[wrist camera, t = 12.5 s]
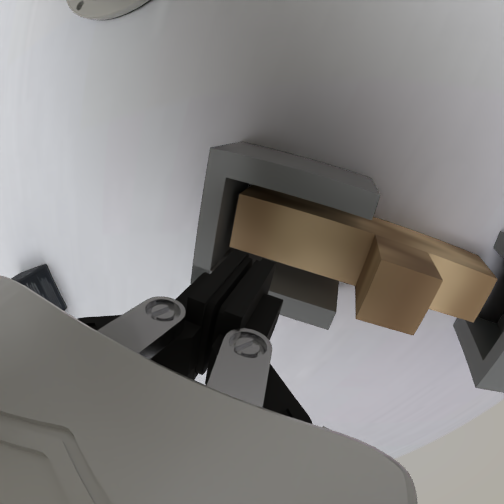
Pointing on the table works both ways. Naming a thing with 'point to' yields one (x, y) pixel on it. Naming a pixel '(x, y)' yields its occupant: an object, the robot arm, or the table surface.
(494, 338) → the channel bracket
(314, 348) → the table surface
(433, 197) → the table surface
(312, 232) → the slat
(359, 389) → the table surface
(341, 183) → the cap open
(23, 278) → the box
